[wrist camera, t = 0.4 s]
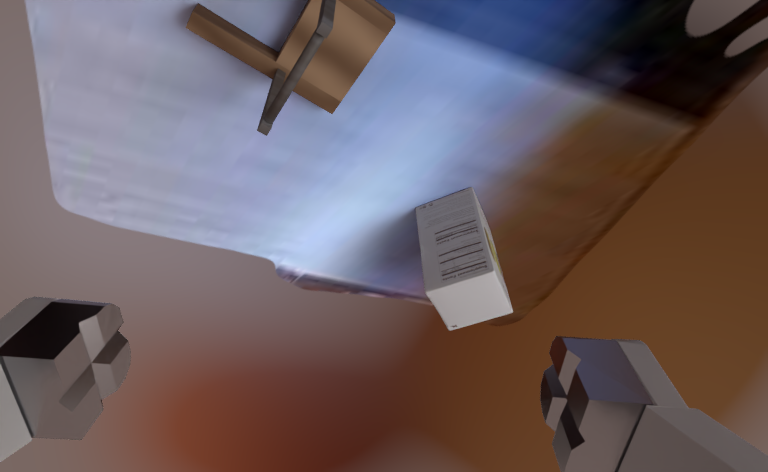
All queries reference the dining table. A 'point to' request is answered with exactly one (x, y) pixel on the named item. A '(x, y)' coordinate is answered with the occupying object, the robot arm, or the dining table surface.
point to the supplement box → (460, 261)
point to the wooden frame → (306, 50)
